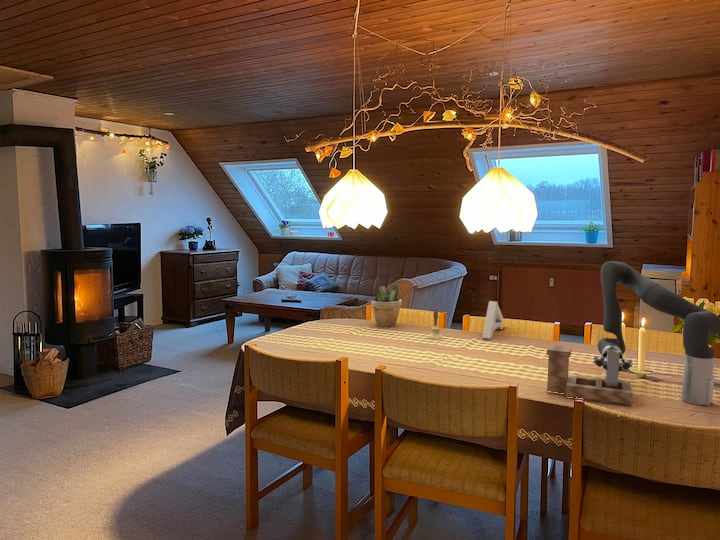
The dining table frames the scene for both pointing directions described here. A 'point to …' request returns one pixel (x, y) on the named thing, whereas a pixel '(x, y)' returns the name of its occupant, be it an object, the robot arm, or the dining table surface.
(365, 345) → the dining table surface
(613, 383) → the gray rectangular block
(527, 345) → the dining table surface
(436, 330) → the hand bell
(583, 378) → the desk organizer
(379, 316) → the potted plant
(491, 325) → the white letter a
